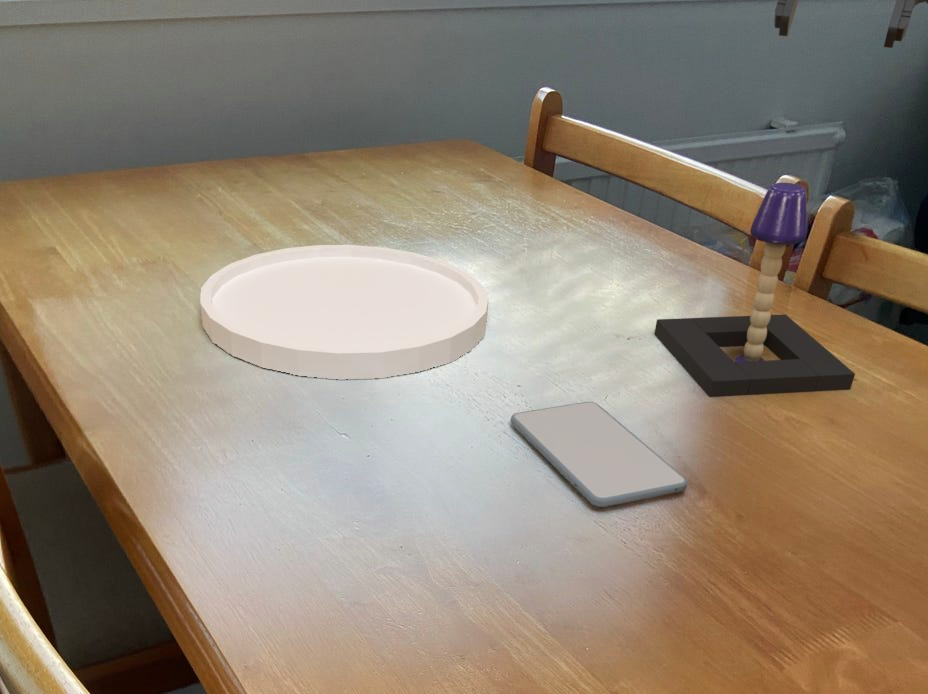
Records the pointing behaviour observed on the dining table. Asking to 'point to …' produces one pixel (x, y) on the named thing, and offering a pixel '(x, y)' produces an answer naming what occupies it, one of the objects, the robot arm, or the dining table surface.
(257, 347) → the plate
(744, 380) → the square frame
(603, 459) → the smartphone
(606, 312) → the dining table surface
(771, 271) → the toy lamp
